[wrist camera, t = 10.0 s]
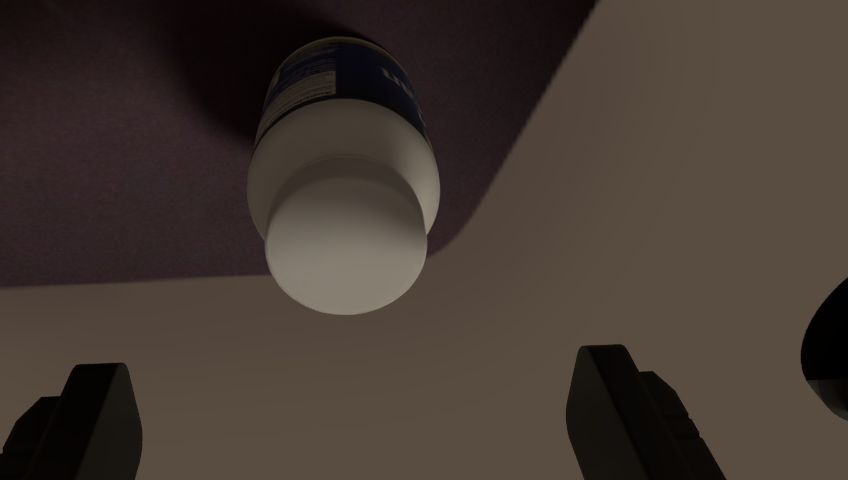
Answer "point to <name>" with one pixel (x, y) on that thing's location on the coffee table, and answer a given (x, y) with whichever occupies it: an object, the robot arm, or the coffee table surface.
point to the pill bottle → (343, 177)
